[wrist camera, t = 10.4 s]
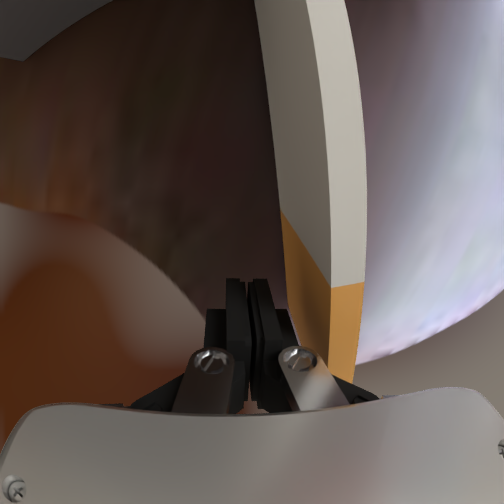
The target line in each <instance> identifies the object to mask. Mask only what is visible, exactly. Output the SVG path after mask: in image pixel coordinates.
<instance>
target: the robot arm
mask: <svg viewBox="0 0 504 504" xmlns="http://www.w3.org/2000/svg"><path fill="white" fill-rule="evenodd" d="M249 382H250V391H251V399H252V401H257V406H258V409H264V410H266V411H267V412H269V413H263V414H236V413H238V412H239V411H240V410H241V409H242V408H243V405H244V401H248V388H249ZM0 504H504V420H503V418H502V417H501V415H500V414H499V413H498V412H497V410H496V409H495V408H494V407H493V405H492V404H491V403H490V402H489V401H488V400H487V399H486V398H485V397H484V396H483V395H482V394H480V393H479V392H477V391H475V390H472V389H468V388H459V387H444V388H443V387H442V388H435V389H429V390H424V391H419V392H415V393H409V394H404V395H396V396H395V395H393V396H382V398H381V399H379V398H378V397H377V396H376V395H374V394H372V393H371V392H368V391H366V390H364V389H362V388H360V387H357V386H355V385H353V384H351V383H349V382H347V381H345V380H342V379H340V378H338V377H336V376H334V375H332V374H331V373H330V371H329V370H328V368H327V366H326V365H325V363H324V362H323V360H322V358H321V357H320V355H319V354H318V353H317V352H316V351H314V350H312V349H310V348H307V347H303V346H299V345H298V342H297V339H296V335H295V332H294V329H293V326H292V323H291V320H290V317H289V314H288V311H287V309H275V307H274V303H273V299H272V296H271V292H270V288H269V284H268V281H267V279H253V282H248V294H247V297H246V289H245V282H240V279H238V278H226V309H207V314H206V327H205V338H204V348H202V349H200V350H197V351H196V352H195V353H193V354H192V356H191V357H190V359H189V362H188V365H187V368H186V371H185V373H183V374H182V375H180V376H179V377H177V378H175V379H173V380H172V381H170V382H168V383H166V384H165V385H163V386H161V387H159V388H158V389H156V390H154V391H152V392H151V393H149V394H147V395H145V396H143V397H142V398H140V399H138V400H136V401H135V402H134V403H132V404H131V406H127V407H124V406H123V404H87V403H56V404H47V405H43V406H39V407H36V408H34V409H31V410H30V411H28V412H27V413H26V414H25V415H24V416H23V417H22V418H21V419H20V420H19V421H18V423H17V424H16V426H15V427H14V429H13V430H12V432H11V434H10V435H9V437H8V439H7V441H6V443H5V445H4V447H3V450H2V452H1V454H0Z"/></svg>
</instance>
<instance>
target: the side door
mask: <svg viewBox="0 0 504 504" xmlns="http://www.w3.org/2000/svg"><path fill="white" fill-rule="evenodd" d="M254 2H255V8H256V15H257V21H258V28H259V34H260V41H261V48H262V55H263V62H264V70H265V77H266V85H267V93H268V101H269V109H270V117H271V126H272V134H273V143H274V152H275V162H276V171H277V181H278V191H279V202H280V212H281V224H282V235H283V247H284V259H285V272H286V286H287V300H288V306H289V309H290V312H291V315H292V318H293V321H294V324H295V327H296V330H297V333H298V337H299V340H300V343H301V346H303V347H307V348H310V349H312V350H314V351H316V352H317V353H318V354H319V355H320V357H321V358H322V360H323V362H324V363H325V365H326V366H327V368H328V370H329V371H330V373H331V374H332V375H334V376H336V377H338V378H340V379H342V380H345V381H347V382H349V383H351V384H352V381H353V375H354V368H355V362H356V355H357V348H358V340H359V332H360V323H361V314H362V303H363V291H364V278H365V261H366V234H367V181H366V155H365V138H364V125H363V114H362V104H361V94H360V86H359V78H358V71H357V64H356V58H355V52H354V46H353V40H352V35H351V29H350V24H349V20H348V15H347V10H346V6H345V2H344V0H254Z"/></svg>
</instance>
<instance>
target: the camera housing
mask: <svg viewBox="0 0 504 504" xmlns="http://www.w3.org/2000/svg"><path fill="white" fill-rule="evenodd" d="M111 1H113V0H0V57H3V58H8V59H13V60H18V61H22V62H23V61H24V60H26V59H27V58H28V57H29V56H30V55H32V54H33V53H34V52H35V51H36V50H38V49H39V48H40V47H42V46H43V45H44V44H45V43H47V42H48V41H49V40H51V39H52V38H53V37H55V36H56V35H58V34H59V33H60V32H62V31H63V30H65V29H66V28H68V27H69V26H71V25H72V24H74V23H75V22H77V21H78V20H80V19H81V18H83V17H85V16H86V15H88V14H90V13H91V12H93V11H95V10H96V9H98V8H100V7H102V6H103V5H105V4H107V3H109V2H111Z"/></svg>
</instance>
